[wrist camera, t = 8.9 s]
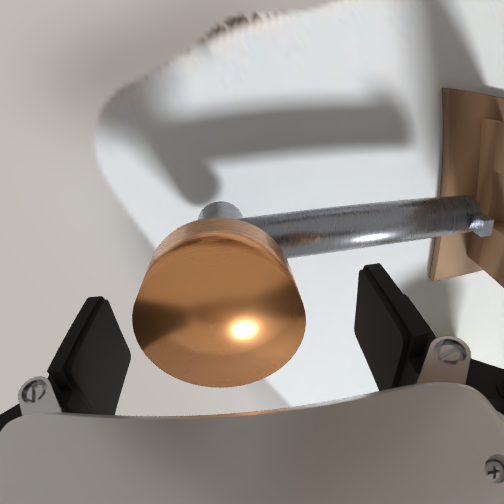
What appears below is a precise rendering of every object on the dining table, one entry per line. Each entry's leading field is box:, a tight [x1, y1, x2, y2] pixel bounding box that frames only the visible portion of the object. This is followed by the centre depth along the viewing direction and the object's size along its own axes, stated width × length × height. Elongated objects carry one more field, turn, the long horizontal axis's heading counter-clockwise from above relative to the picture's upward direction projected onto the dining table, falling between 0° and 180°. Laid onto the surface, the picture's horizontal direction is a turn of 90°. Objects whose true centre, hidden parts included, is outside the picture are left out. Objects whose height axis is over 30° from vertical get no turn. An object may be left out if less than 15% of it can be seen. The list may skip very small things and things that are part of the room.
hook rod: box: [132, 195, 494, 387], centre depth 15 cm, size 19×6×10 cm, turn 96°
